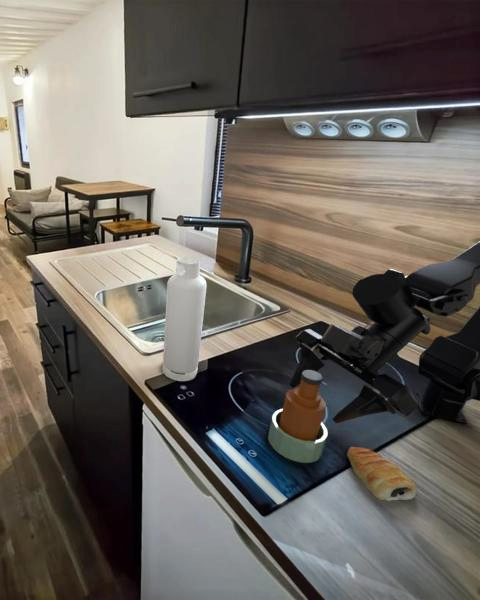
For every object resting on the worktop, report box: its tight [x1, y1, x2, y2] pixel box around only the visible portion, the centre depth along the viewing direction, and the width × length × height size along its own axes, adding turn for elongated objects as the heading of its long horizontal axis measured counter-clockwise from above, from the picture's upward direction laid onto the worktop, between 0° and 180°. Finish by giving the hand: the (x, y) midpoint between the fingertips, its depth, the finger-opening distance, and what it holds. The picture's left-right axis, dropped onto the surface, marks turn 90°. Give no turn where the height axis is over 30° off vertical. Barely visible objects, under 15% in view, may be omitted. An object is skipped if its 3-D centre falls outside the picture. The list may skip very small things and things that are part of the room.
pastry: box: [346, 446, 418, 502], centre depth 58 cm, size 9×7×4 cm
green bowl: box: [267, 408, 329, 464], centre depth 64 cm, size 8×8×5 cm
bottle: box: [162, 255, 208, 382], centre depth 81 cm, size 8×8×28 cm
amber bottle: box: [279, 370, 327, 441], centre depth 62 cm, size 6×6×15 cm
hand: (311, 402), depth 62 cm, fingers open, 9 cm apart
